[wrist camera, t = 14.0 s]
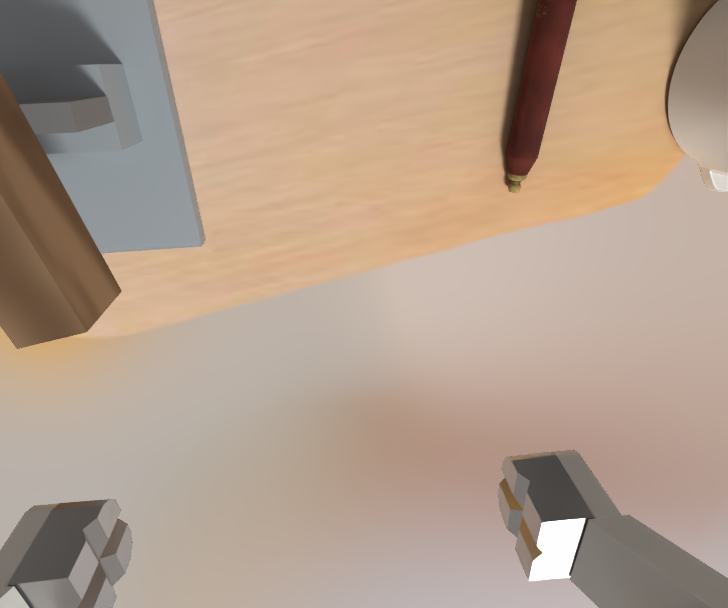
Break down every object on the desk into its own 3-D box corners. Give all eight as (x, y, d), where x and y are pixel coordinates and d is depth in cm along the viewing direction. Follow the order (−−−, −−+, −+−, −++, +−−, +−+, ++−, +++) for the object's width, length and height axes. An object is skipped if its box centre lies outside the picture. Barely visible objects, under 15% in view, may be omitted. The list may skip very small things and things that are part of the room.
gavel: (580, 202, 37) (464, 200, 36) (556, 185, 41) (450, 183, 40) (691, -145, 26) (526, -162, 25) (642, -124, 30) (498, -138, 29)
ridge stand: (132, -92, 28) (43, -168, 19) (205, 240, 38) (171, 295, 29) (-105, -87, 27) (-322, -165, 18) (36, 251, 38) (-54, 312, 28)
